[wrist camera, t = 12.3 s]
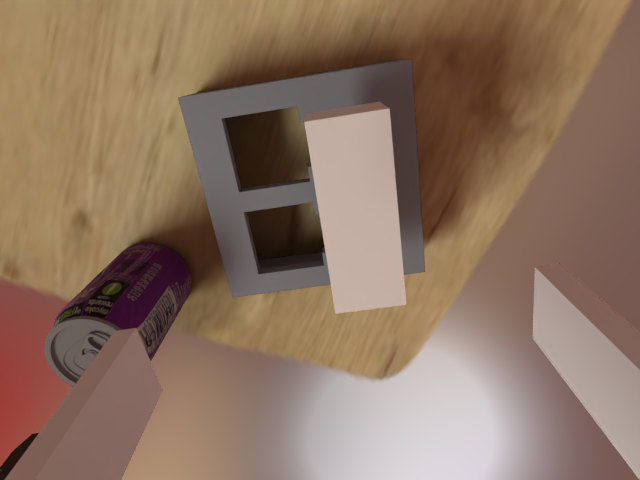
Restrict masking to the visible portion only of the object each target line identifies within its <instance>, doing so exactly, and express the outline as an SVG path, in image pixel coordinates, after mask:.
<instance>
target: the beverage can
mask: <svg viewBox="0 0 640 480" xmlns="http://www.w3.org/2000/svg"><path fill="white" fill-rule="evenodd" d="M191 285H192V280H191V274H190V271H189V269H188V267H187V265H186V264H185V262H184V261H183V260H182V259H181V257H180V256H178V255H177V254H176V253H175V252H173V251H172V250H170V249H168V248H166V247H164V246H161V245H158V244H153V243H140V244H136V245H133V246H130V247H128V248H126V249H125V250H124V251H123V252H121V253H120V254H119V255H118V256H117V257H116V258H115V259H114V260H113V261H112V262H111V263H110V264H109V265H108V266H107V267H106V268H105V269H104V270H103V271H102V272H101V273H100V274H99V275H97V276H96V277H95V278H94V279H93V280H92V281H91V282H90V283H89V284H88V285H87V286H86V287H85V288H84V289H83V290H82V291H81V292H80V293H79V294H78V295H77V296H76V297H75V298H74V299H72V300H71V301H70V302H69V303H68V304H67V306H65V307H64V308H63V309H62V311H61V312H60V313H59V314H58V316H57V317H56V319H55V322H54V326H53V329H52V330H51V331H50V332H49V334H48V336H47V338H46V340H45V345H44V351H45V356H46V359H47V362H48V364H49V366H50V367H51V368H52V370H53V371H54V372H55V374H56V375H58V377H60V378H61V379H62V380H63V381H65V382H66V383H68V384H70V385H72V386H73V387H74V385H75V384H76V383H77V381H78V380H79V378H80V377H81V376H82V374H83V373H84V372H85V370H86V369H87V368H88V366H89V365H90V364H91V362H92V361H93V360H94V358H95V357H96V356H97V354H98V353H99V351H100V350H101V349H102V347H103V346H104V345H105V343H106V342H107V341H108V339H109V338H110V337H111V335H112V334H113V333H114V331H119V330H126V329H132V328H136V329H137V331H138V333H139V336H140V338H141V340H142V343H143V345H144V347H145V350H146V352H147V354H148V357H149V359H150V361H151V360H152V358H153V357H154V355H155V353H156V351H157V350H158V348H159V346H160V344H161V343H162V341H163V339H164V337H165V335H166V334H167V332H168V330H169V329H170V327H171V325H172V323H173V322H174V320H175V318H176V316H177V315H178V313H179V311H180V310H181V308H182V306H183V304H184V303H185V301H186V299H187V297H188V295H189V293H190V291H191Z"/></svg>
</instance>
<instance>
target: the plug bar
mask: <svg viewBox="0 0 640 480" xmlns="http://www.w3.org/2000/svg"><path fill="white" fill-rule="evenodd" d="M304 123H305V129H306V136H307V142H308V148H309V154H310V160H311V166H312V172H313V178H314V185H315V191H316V197H317V203H318V209H319V215H320V221H321V227H322V234H323V240H324V246H325V252H326V258H327V264H328V270H329V276H330V283H331V289H332V295H333V301H334V307H335V313H336V314H337V313H345V312H352V311H360V310H368V309H376V308H384V307H391V306H399V305H406V296H405V284H404V272H403V260H402V249H401V237H400V225H399V213H398V202H397V190H396V178H395V166H394V155H393V143H392V131H391V119H390V108H388V107H387V106H385V105H384V104H382V103H381V102H374V103H368V104H362V105H356V106H349V107H343V108H337V109H330V110H324V111H318V112H312V113H307V114H306V118H305V121H304Z"/></svg>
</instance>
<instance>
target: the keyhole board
mask: <svg viewBox="0 0 640 480" xmlns="http://www.w3.org/2000/svg"><path fill="white" fill-rule="evenodd" d="M178 99H179V103H180V106H181V110H182V114H183V118H184V121H185V125H186V129H187V132H188V136H189V140H190V143H191V147H192V151H193V154H194V158H195V162H196V165H197V169H198V173H199V176H200V180H201V184H202V188H203V191H204V195H205V199H206V202H207V206H208V210H209V213H210V217H211V221H212V224H213V228H214V232H215V235H216V239H217V243H218V246H219V250H220V254H221V258H222V261H223V265H224V269H225V272H226V276H227V280H228V283H229V287H230V291H231V294H232V298H233V297H241V296H248V295H256V294H263V293H271V292H278V291H286V290H293V289H301V288H308V287H316V286H323V285H331V283H330V276H329V270H328V264H327V258H326V252H325V248H322V252H316V253H309V254H301V255H294V256H287V257H280V258H272V259H265V260H258V258H257V254H256V249H255V245H254V241H253V236H252V232H251V228H250V224H249V219H248V215H247V212H249V211H256V210H263V209H270V208H277V207H283V206H290V205H297V204H304V203H311V202H314V208H315V214H316V216H317V215H319V209H318V203H317V197H316V191H315V185H314V178H313V172H312V166H311V164H308V172H309V179H302V180H295V181H288V182H282V183H275V184H268V185H262V186H255V187H248V188H242V189H241V185H240V181H239V177H238V172H237V168H236V164H235V160H234V155H233V151H232V147H231V143H230V138H229V134H228V130H227V126H226V121H225V118H228V117H234V116H240V115H247V114H253V113H259V112H265V111H272V110H278V109H284V108H290V107H296V106H298V112H299V118H300V122H304V121H305V118H306V114H307V113H312V112H318V111H324V110H330V109H337V108H343V107H349V106H356V105H362V104H368V103H374V102H381V103H382V104H384V105H385V106H387V107H388V108H390V119H391V131H392V143H393V155H394V166H395V178H396V190H397V202H398V213H399V225H400V237H401V249H402V260H403V272H404V275H406V274H414V273H421V272H425V259H424V243H423V227H422V211H421V195H420V180H419V164H418V148H417V132H416V116H415V100H414V84H413V68H412V59H399V60H393V61H387V62H381V63H375V64H369V65H363V66H357V67H351V68H345V69H339V70H333V71H327V72H321V73H315V74H309V75H303V76H297V77H290V78H284V79H278V80H272V81H266V82H260V83H254V84H248V85H242V86H236V87H230V88H224V89H218V90H212V91H206V92H200V93H195V94H191V95H187V96H183V97H179V98H178Z"/></svg>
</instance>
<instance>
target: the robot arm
mask: <svg viewBox="0 0 640 480" xmlns="http://www.w3.org/2000/svg"><path fill="white" fill-rule="evenodd" d="M533 339H534V340H535V342H536V343H537V344H538V346H539V347H540V348H541V349H542V351H543V352H544V354H545V355H546V356H547V358H548V359H549V360H550V362H551V363H552V364H553V365H554V367H555V368H556V369H557V371H558V372H559V374H560V375H561V376H562V378H563V379H564V380H565V382H566V383H567V384H568V386H569V387H570V388H571V389H572V391H573V392H574V393H575V395H576V396H577V397H578V399H579V400H580V401H581V403H582V404H583V405H584V407H585V408H586V409H587V411H588V412H589V413H590V415H591V416H592V417H593V419H594V420H595V421H596V423H597V424H598V425H599V427H600V428H601V429H602V430H603V432H604V433H605V435H606V436H607V437H608V438H609V440H610V441H611V442H612V444H613V445H614V447H615V448H616V449H617V451H618V452H619V453H620V454H621V456H622V457H623V459H624V460H625V461H626V462H627V464H628V465H629V466H630V468H631V469H632V470H633V472H634V473H635V474H636V476H637V477H638V478H639V480H640V332H639V331H638V330H637V329H635V328H634V327H633V326H632V325H631V324H630V323H628V322H627V321H626V320H625V319H624V318H623V317H621V316H620V315H619V314H618V313H617V312H616V311H615V310H613V309H612V308H611V307H610V306H609V305H608V304H606V303H605V302H604V301H603V300H602V299H600V297H598V296H597V295H596V294H595V293H593V291H591V290H590V289H589V288H588V287H587V286H586V285H584V284H583V283H582V282H581V281H580V280H579V279H578V278H576V277H575V276H574V275H573V274H572V273H571V272H569V271H568V270H567V269H566V268H565V267H564V266H563V265H561V264H560V263H559V264H553V265H546V266H540V267H535V288H534V316H533ZM162 391H163V390H162V388H161V385H160V383H159V380H158V378H157V376H156V374H155V371H154V369H153V366H152V364H151V361H150V359H149V357H148V354H147V352H146V350H145V347H144V345H143V343H142V340H141V338H140V336H139V333H138V331H137V329H136V328H132V329H126V330H119V331H114V333H113V334H112V335H111V337H110V338H109V339H108V341H107V342H106V343H105V345H104V346H103V347H102V349H101V350H100V351H99V353H98V354H97V356H96V357H95V358H94V360H93V361H92V362H91V364H90V365H89V366H88V368H87V369H86V370H85V372H84V373H83V374H82V376H81V377H80V378H79V380H78V381H77V383H76V384H75V385H74V387H73V388H72V389H71V391H70V392H69V393H68V395H67V396H66V397H65V399H64V400H63V402H62V403H61V404H60V405H59V407H58V409H57V410H56V411H55V412H54V414H53V415H52V416H51V418H50V419H49V420H48V422H47V423H46V425H45V426H44V427H43V429H42V430H41V431H40V432H39V433H36V434H32V435H31V436H30V437H28V438H27V439H26V440H25V441H24V442H23V443H22V444H21V445H19V446H18V447H17V448H16V449H15V450H14V451H13V452H12V453H11V454H10V456H9V457H8V458H7V460H6V461H5V462H4V463H3V465H2V466H1V467H0V480H121V479H122V476H123V474H124V472H125V470H126V468H127V466H128V463H129V461H130V459H131V457H132V455H133V453H134V451H135V448H136V446H137V444H138V442H139V440H140V438H141V436H142V433H143V431H144V429H145V427H146V425H147V423H148V421H149V419H150V416H151V414H152V412H153V410H154V408H155V406H156V404H157V401H158V399H159V397H160V395H161V393H162Z"/></svg>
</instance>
